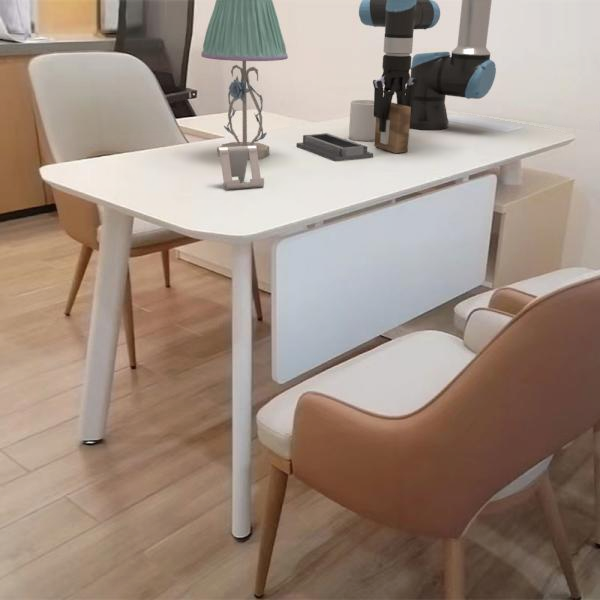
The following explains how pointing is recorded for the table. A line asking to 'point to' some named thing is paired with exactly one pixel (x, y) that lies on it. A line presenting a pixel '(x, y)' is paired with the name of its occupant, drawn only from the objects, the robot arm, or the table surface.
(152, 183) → the table surface
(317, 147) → the base
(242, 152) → the portable electronic device stand
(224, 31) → the table lamp
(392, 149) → the brown wooden block
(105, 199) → the table surface
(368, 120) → the mug
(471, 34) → the robot arm
